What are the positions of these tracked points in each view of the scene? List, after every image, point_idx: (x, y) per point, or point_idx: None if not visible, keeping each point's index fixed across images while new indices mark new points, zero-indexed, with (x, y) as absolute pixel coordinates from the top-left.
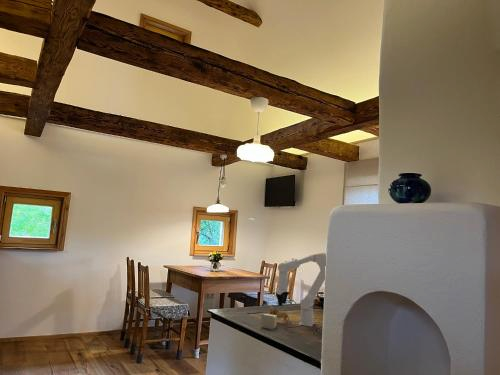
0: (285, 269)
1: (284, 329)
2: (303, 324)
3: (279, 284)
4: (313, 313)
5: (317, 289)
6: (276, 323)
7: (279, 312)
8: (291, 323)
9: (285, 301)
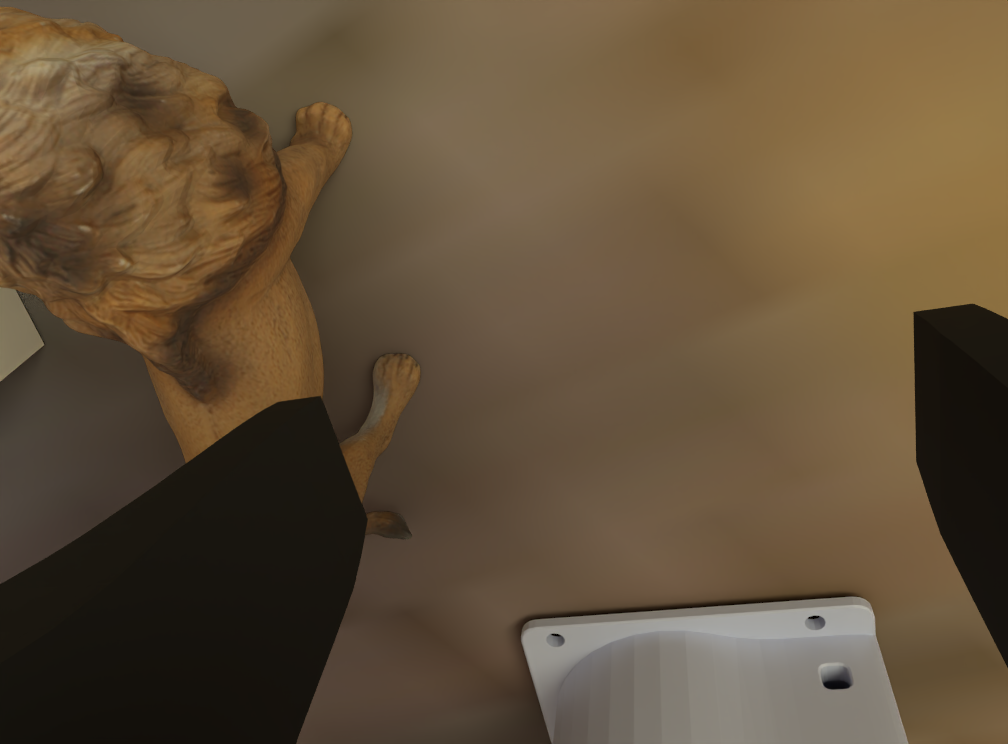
0: None
1: (21, 540)
2: (545, 703)
3: None
4: None
5: None
6: (9, 373)
7: (191, 416)
8: (407, 538)
9: (953, 552)
